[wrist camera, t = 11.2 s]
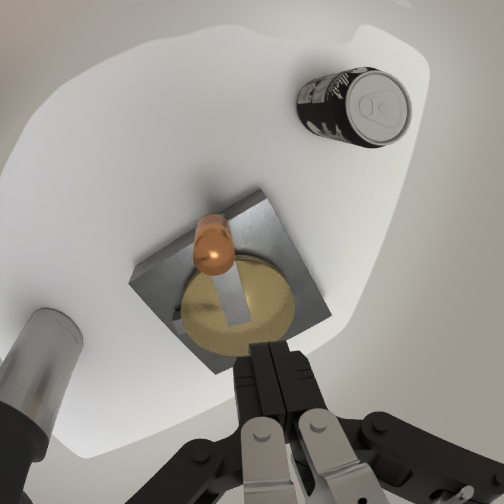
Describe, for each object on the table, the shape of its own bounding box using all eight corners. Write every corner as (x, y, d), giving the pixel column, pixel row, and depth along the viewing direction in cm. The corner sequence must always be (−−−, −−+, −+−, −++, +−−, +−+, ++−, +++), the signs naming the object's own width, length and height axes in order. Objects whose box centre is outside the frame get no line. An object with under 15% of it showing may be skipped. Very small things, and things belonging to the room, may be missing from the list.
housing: (214, 354, 42) (215, 375, 38) (135, 266, 34) (127, 284, 31) (322, 297, 40) (332, 316, 36) (260, 188, 32) (267, 198, 29)
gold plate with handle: (296, 330, 36) (315, 378, 29) (193, 354, 36) (192, 405, 29) (271, 190, 28) (293, 217, 21) (139, 224, 28) (117, 262, 21)
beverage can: (352, 136, 31) (415, 152, 20) (296, 137, 31) (342, 150, 20) (350, 80, 28) (415, 71, 18) (293, 77, 28) (338, 60, 17)
